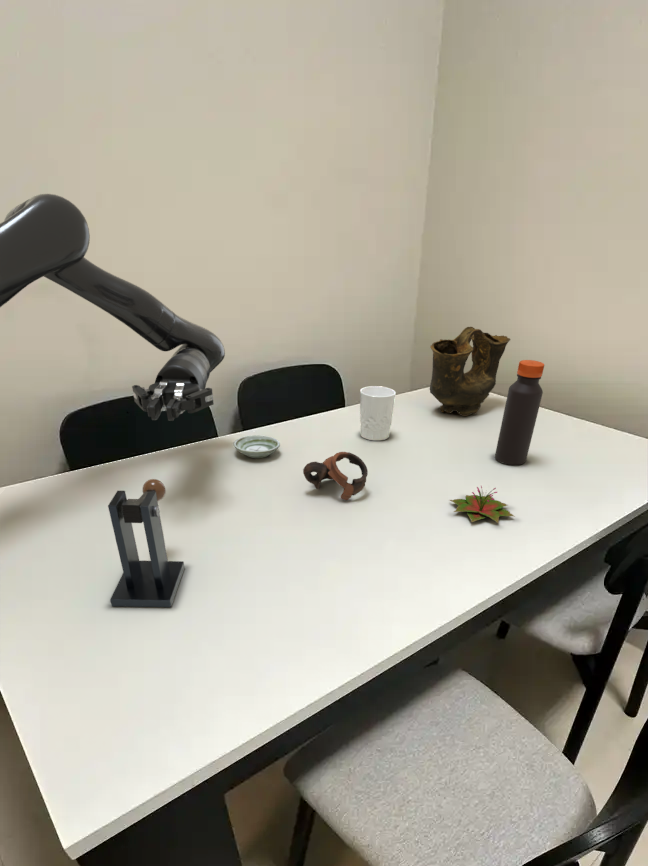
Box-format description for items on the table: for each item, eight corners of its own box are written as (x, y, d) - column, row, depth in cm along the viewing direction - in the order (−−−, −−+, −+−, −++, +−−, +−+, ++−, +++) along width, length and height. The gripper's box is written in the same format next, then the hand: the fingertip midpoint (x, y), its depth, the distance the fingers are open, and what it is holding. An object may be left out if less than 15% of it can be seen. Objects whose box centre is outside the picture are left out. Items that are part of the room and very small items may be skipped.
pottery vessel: (474, 396, 163) (488, 318, 150) (505, 407, 156) (522, 326, 144) (412, 413, 149) (422, 328, 137) (444, 425, 143) (457, 337, 131)
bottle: (517, 468, 124) (541, 369, 111) (489, 459, 127) (508, 362, 114) (530, 459, 128) (554, 363, 116) (502, 451, 131) (523, 356, 119)
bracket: (130, 567, 87) (111, 480, 79) (184, 568, 88) (171, 482, 79) (111, 606, 79) (88, 515, 71) (171, 607, 80) (155, 517, 71)
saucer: (282, 446, 127) (282, 435, 126) (277, 464, 120) (277, 452, 118) (238, 444, 127) (237, 433, 126) (230, 461, 119) (229, 450, 118)
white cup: (389, 429, 138) (393, 386, 132) (393, 442, 132) (397, 397, 126) (356, 429, 138) (359, 385, 132) (359, 441, 132) (361, 396, 126)
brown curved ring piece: (347, 477, 117) (365, 449, 111) (357, 516, 113) (377, 489, 107) (292, 469, 111) (308, 439, 105) (300, 509, 107) (317, 481, 101)
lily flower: (437, 500, 110) (440, 477, 107) (492, 493, 113) (497, 471, 110) (467, 530, 101) (472, 507, 98) (526, 522, 104) (532, 499, 101)
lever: (147, 497, 87) (144, 476, 85) (168, 498, 87) (166, 476, 86) (121, 525, 75) (117, 501, 74) (146, 526, 76) (142, 502, 74)
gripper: (138, 356, 99) (109, 386, 85) (220, 359, 100) (204, 390, 86) (146, 401, 104) (119, 436, 90) (224, 404, 104) (209, 439, 91)
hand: (161, 413), depth 88 cm, fingers closed
